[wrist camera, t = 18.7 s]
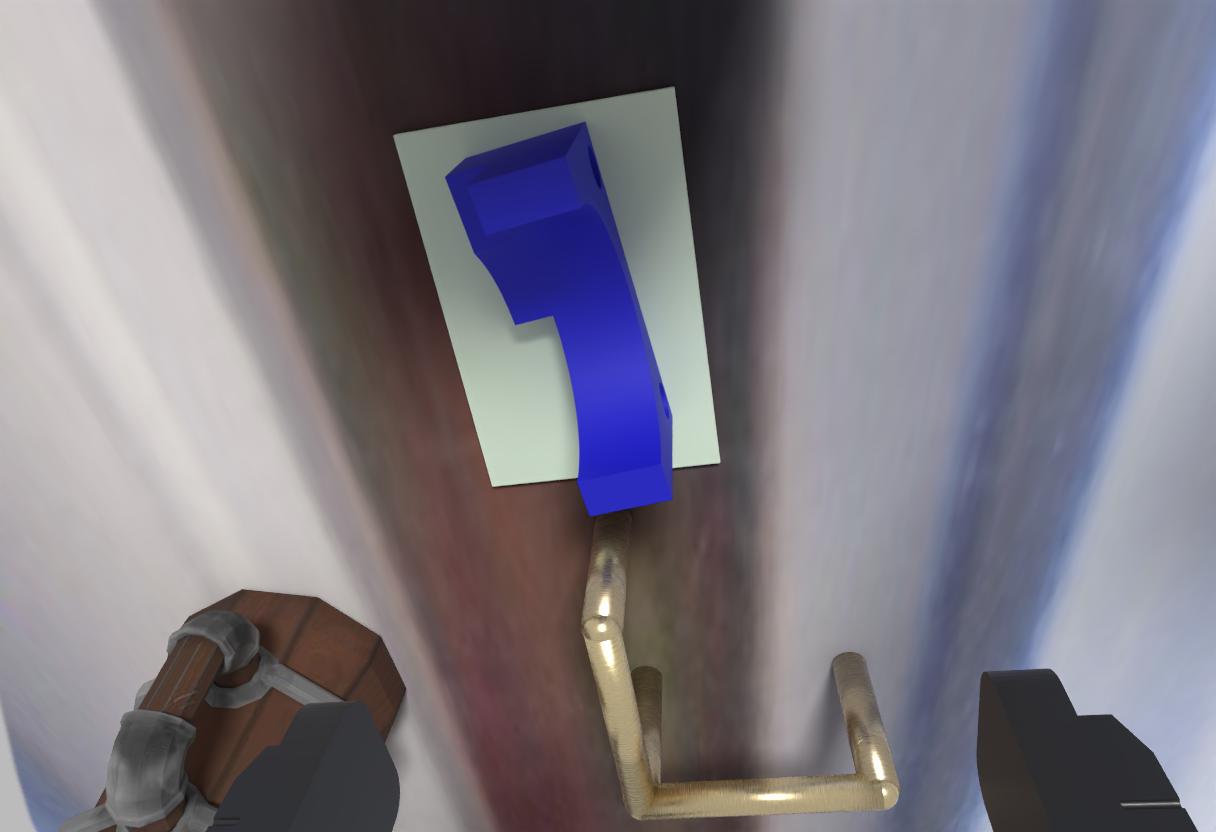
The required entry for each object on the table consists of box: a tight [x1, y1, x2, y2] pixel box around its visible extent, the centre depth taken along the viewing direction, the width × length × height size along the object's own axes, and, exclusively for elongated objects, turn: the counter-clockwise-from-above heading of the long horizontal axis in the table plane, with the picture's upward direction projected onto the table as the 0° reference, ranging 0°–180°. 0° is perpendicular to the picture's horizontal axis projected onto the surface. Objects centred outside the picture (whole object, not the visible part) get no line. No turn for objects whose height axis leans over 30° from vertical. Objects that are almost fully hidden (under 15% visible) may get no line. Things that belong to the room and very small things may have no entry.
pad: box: [393, 86, 720, 487], centre depth 32 cm, size 10×15×1 cm, turn 10°
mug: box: [58, 589, 406, 832], centre depth 35 cm, size 16×12×15 cm
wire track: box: [580, 509, 901, 820], centre depth 35 cm, size 12×12×8 cm
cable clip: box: [445, 121, 673, 516], centre depth 28 cm, size 12×4×6 cm, turn 17°
